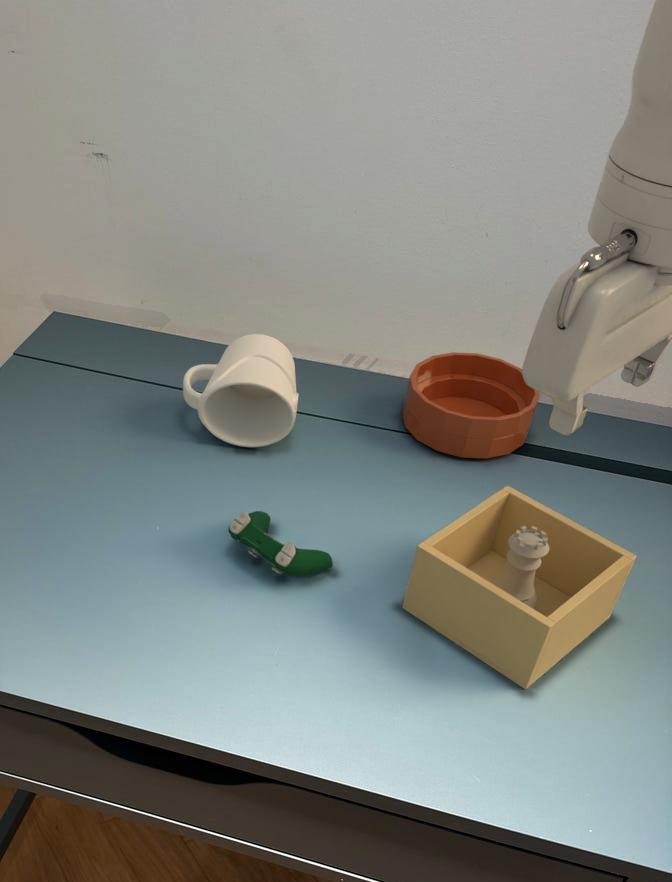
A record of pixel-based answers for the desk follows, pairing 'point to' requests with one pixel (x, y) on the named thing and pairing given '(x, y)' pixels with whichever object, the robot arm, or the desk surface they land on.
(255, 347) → the mug
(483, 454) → the bowl
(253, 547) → the green two-tone curved device
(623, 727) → the desk surface
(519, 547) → the rook chess piece
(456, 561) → the bin
